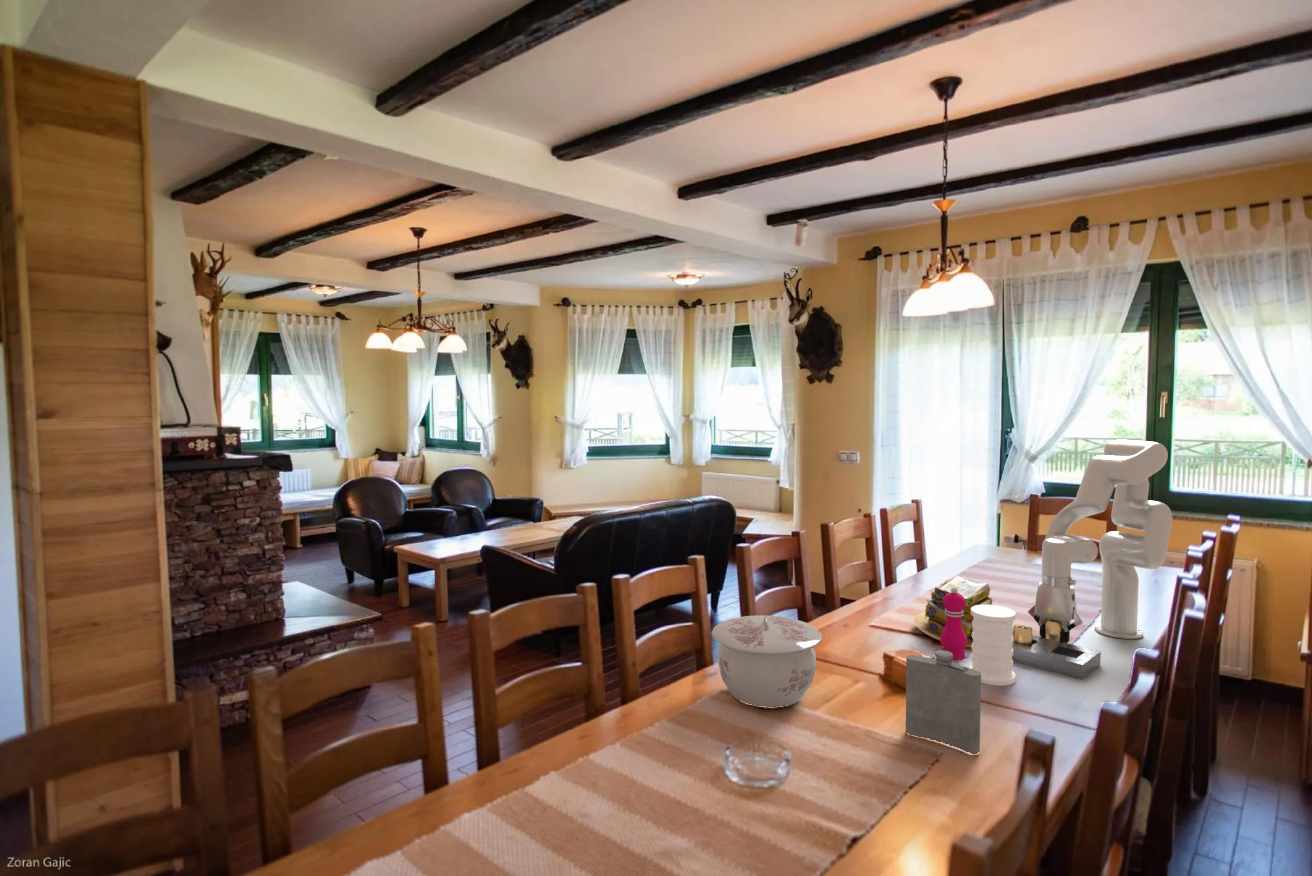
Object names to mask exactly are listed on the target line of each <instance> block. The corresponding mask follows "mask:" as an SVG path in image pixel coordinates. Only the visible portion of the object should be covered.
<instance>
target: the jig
mask: <svg viewBox="0 0 1312 876" xmlns="http://www.w3.org/2000/svg"><path fill="white" fill-rule="evenodd" d="M1013 625H1014V630H1013V633H1012V636H1013V638H1014V641H1013V644H1012V648H1013V652H1014V653H1013V656H1012V660H1013V663H1017V664H1018V663H1019V664H1022V665H1026V666H1030V667H1034V668H1037V669H1040V670H1044V671H1047V672H1052V673H1055V674H1056V673H1057V674H1059V675H1064V676H1066V677H1070V678H1075V679H1079V680H1082V681H1083V680H1084V679H1086V677H1088V676H1089V675H1090V674H1091V673H1093V672H1094V671H1095V670H1096V669H1098V668H1099V667H1100V666H1101V659H1102V655H1101V654H1102V653H1101V650H1097V649H1092V648H1088V647H1083V646H1081V645H1080V646H1079V645H1076V644H1071V643H1069V642H1068V643H1063V642H1059V641H1055V640H1051V639H1046V638H1042V637H1041V636H1038V635H1033V627H1031V626H1029V625H1026V624H1019V623H1018V624H1013Z"/></svg>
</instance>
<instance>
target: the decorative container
mask: <svg viewBox="0 0 1312 876" xmlns="http://www.w3.org/2000/svg"><path fill="white" fill-rule="evenodd" d="M971 615H972V616H974V619H973V621H972V627H973V632H972V639H973V643H972V647H971V651H972V655H971V662H972V665H970V666H969V667H968V668H970V669H973V670H976V671H979V672H980V673H981V684H986V685H989V686H990V685H991V686H999V687H1002V686H1003V687H1004V686H1010V685H1014V684H1015V683H1016V682H1017V674H1016V673H1015V672H1014V671H1013V667H1014V661H1013V660H1012V656H1013V653H1014V652H1013V648H1012V644H1013V641H1014V638H1013V636H1012V633H1013V630H1014V625H1015V624H1014V623H1013V622H1014V621H1015V620H1016V617H1017V615H1016V611H1015V610H1013V609H1011V608H1009V607H1006V606H1001V605H994V604H992V605H976V606H973V607H971Z"/></svg>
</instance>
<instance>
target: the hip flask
mask: <svg viewBox="0 0 1312 876" xmlns="http://www.w3.org/2000/svg"><path fill="white" fill-rule="evenodd" d="M934 656H935V658H931V657H927V656H920V655H915V654H913V655H912V654H909V655H907V656H906V662H905V663H906V670H905V672H906V673H905V675H906V676H905V684H906V685H905V733H906V732H907V733H909V734H910V735H915V736H918V737H924V738H929V739H931V740H936V741H938V742H943V743H945V744H949V745H950V746H954V747H957V748H960V749H962V750H964V751H966V752H970V753H972V754H977V753H978V752H980V753H981V748H980V747H981V743H980V742H981V707H982V706H981V704H982V703H981V700H982V699H981V697H982V696H981V695H982V694H981V693H982V683H981V673H980V672H979V671H976V670H973V669H970V668H969V667H968V666H964V665H962V664H958V663H956V662H953V659H952V658H953V654H952V653H951V652H948V651H942V650H936V651H935V653H934Z"/></svg>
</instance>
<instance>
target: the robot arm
mask: <svg viewBox="0 0 1312 876" xmlns="http://www.w3.org/2000/svg"><path fill="white" fill-rule="evenodd" d="M1103 453H1104V454H1101V455H1100V454H1099V455H1096V456H1092V458H1090V460H1089V461H1088V463H1087V465H1086V468H1085V471H1084V473H1083V477H1082V479H1081V482H1080V485H1079V487H1078V490H1077V492H1076V497H1075V498H1074V499H1073V501H1072V502H1071V503H1069V504H1067V505H1066V506H1064V507H1063V508H1062V509H1061V510H1060V511H1059V512H1058V513H1056V515H1055V516H1054V517H1053V519H1052V520H1051V521H1050V523H1049V526H1048V529H1047V532H1046V534H1045V538H1044V540H1043V541H1042V544H1041V546H1042V547H1041V581H1040V582H1039V583H1038V586H1037V591H1036V595H1035V603H1034V605H1033V606H1032V607H1030V609H1028V611H1027V613H1028V614H1029V615H1030V616H1031V617H1032V618H1033V619H1034V621H1035V622H1036V623H1037V625H1038V627H1039V637H1042V638H1045V619H1046V618H1049V619H1053V620H1058V621H1061V622H1062V626H1063V631H1062V635H1061V642H1063V643H1068V644H1069V642H1070V634H1071V632H1070V631H1071V630H1073V629H1074V628H1076V627H1079V626H1081V625H1082V624H1083V623H1084V621H1083V620H1082V619H1081V617H1080V616H1079V614H1078V613H1077V602H1076V601H1077V600H1076V591H1075V589H1074V586H1075V585H1076V584H1077V580H1075V579H1073V578H1072V576H1071V575H1072V564H1081V565H1083V564H1089V563H1092V562H1094V560H1096V558H1097V557H1098V554H1100V559H1101V569H1102V571H1101V572H1102V574H1101V575H1102V576H1101V580H1102V581H1101V606H1100V607H1101V608H1100V622H1099V623H1096V624H1094V630H1095V631H1096V632H1098V633H1099V634H1101V635H1104V636H1108V637H1111V638H1117V639H1123V640H1124V639H1125V640H1135V639H1140V638H1142V637H1144V636H1143V635H1144V631H1143V630H1142V629H1140V628H1138V615H1139V613H1138V612H1139V609H1138V607H1139V585H1140V582H1139V581H1140V580H1139V575H1138V572H1137V570H1136V568H1141V569H1145V570H1146V569H1147V570H1157V569H1159V568H1160V567H1162V566H1163V564H1164V563H1165V561H1166V560H1165V559H1166V557H1167V553H1168V547H1169V542H1170V538H1171V537H1170V536H1171V532H1172V526H1173V514H1172V511H1171V508H1170V507H1169V506H1168V505H1167V504H1165V502H1161V501H1156V500H1151V499H1150V500H1149V499H1148V497H1149V491H1150V482H1149V481H1150V480H1149V478H1150V477H1151V476H1153V475H1154V474H1156V473H1158V472H1159V471H1161V470H1162V468H1163V467H1165V465H1166V464H1167V461H1168V457H1169V455H1168V454H1169V453H1168V450H1167V448H1166V446H1165V445H1163V444H1162V443H1159V442H1156V441H1148V440H1146V441H1144V440H1132V439H1131V440H1130V439H1114V440H1111V441H1108V442H1107V443H1106V444H1105V445H1104V450H1103ZM1114 489H1115V492H1114ZM1113 492H1114V496H1113V503H1112V507H1111V512H1110V513H1111V515H1110V517H1111V522H1112V523H1113V524H1114V525H1116V526H1118V527H1121V528H1125V529H1129V530H1135V531H1139V532H1140V531H1142V532H1143V535H1140V534H1136V533H1130V532H1125V531H1116V530H1115V531H1114V530H1113V531H1108V532H1106V533H1104V534H1103V535H1102V536H1101V538H1100V539H1099V544H1098V545H1099V547H1098V545H1097V544H1096V543H1095V542H1094V541H1093V540H1091V539H1089V538H1086V537H1083V536H1082V537H1081V536H1077V535H1072V534H1067V533H1068V531H1069V530H1070V528H1071V526H1072V525H1074V524H1075V523H1076V522H1078V521H1079V520H1081V519H1084V518H1086V517H1090V516H1093V515H1098V514H1101V513H1104V512H1105V511H1106V510H1107V508H1108V505H1109V504H1110V503H1109V502H1110V501H1111V497H1112V494H1113ZM1072 620H1074V622H1072ZM1071 622H1072V623H1071Z"/></svg>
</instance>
